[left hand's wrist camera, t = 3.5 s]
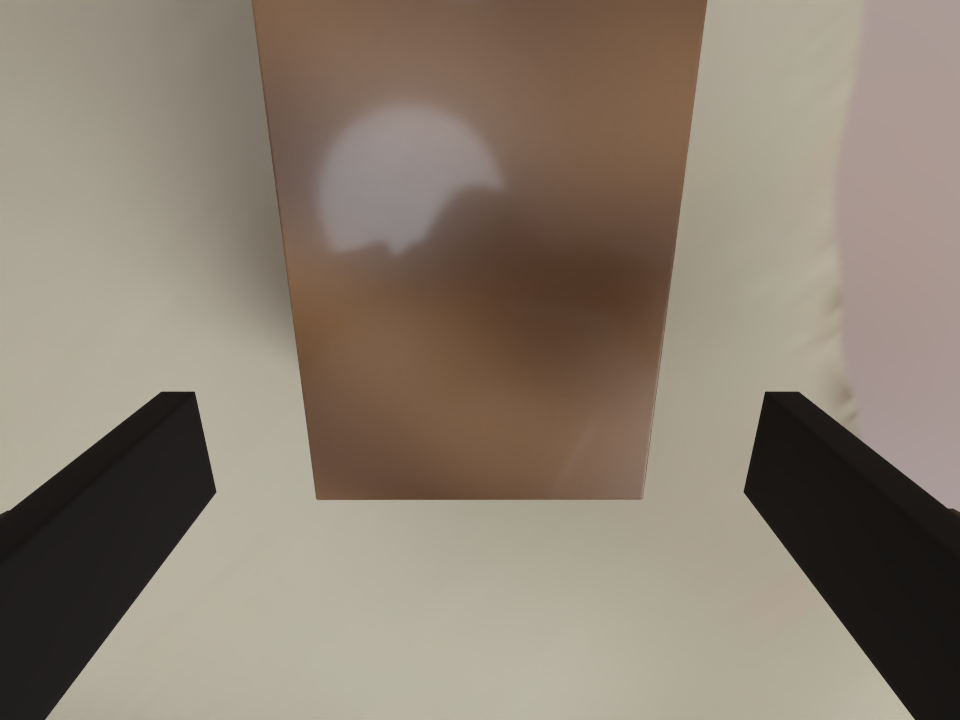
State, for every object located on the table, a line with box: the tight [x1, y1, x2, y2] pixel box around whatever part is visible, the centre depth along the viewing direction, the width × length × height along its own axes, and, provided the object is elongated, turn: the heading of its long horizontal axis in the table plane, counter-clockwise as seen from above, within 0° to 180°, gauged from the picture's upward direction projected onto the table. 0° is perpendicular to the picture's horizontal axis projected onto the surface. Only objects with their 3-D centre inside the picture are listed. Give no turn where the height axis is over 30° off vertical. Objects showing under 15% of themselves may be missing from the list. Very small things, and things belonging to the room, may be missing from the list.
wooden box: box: [252, 0, 707, 500], centre depth 18 cm, size 18×10×8 cm, turn 0°
